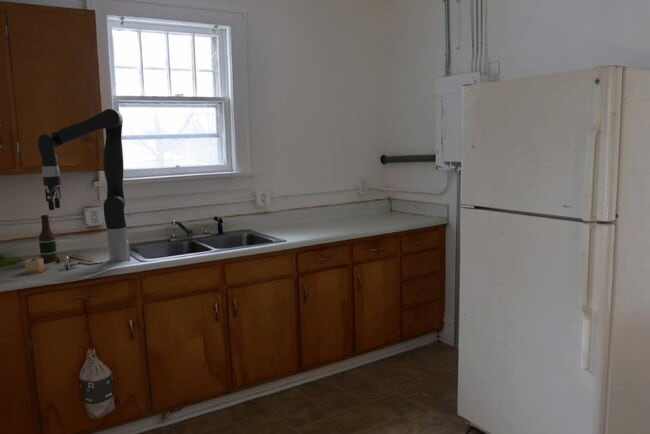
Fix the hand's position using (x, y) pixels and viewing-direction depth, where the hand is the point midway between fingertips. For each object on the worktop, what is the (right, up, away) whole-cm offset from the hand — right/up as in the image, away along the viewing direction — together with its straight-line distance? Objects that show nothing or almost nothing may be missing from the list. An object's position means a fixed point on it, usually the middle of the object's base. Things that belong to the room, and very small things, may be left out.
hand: (54, 209), depth 260 cm
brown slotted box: (-3, -29, -12) cm, 31 cm away
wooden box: (-3, -30, -12) cm, 32 cm away
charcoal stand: (+10, -29, -8) cm, 32 cm away
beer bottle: (-10, -27, +15) cm, 32 cm away
